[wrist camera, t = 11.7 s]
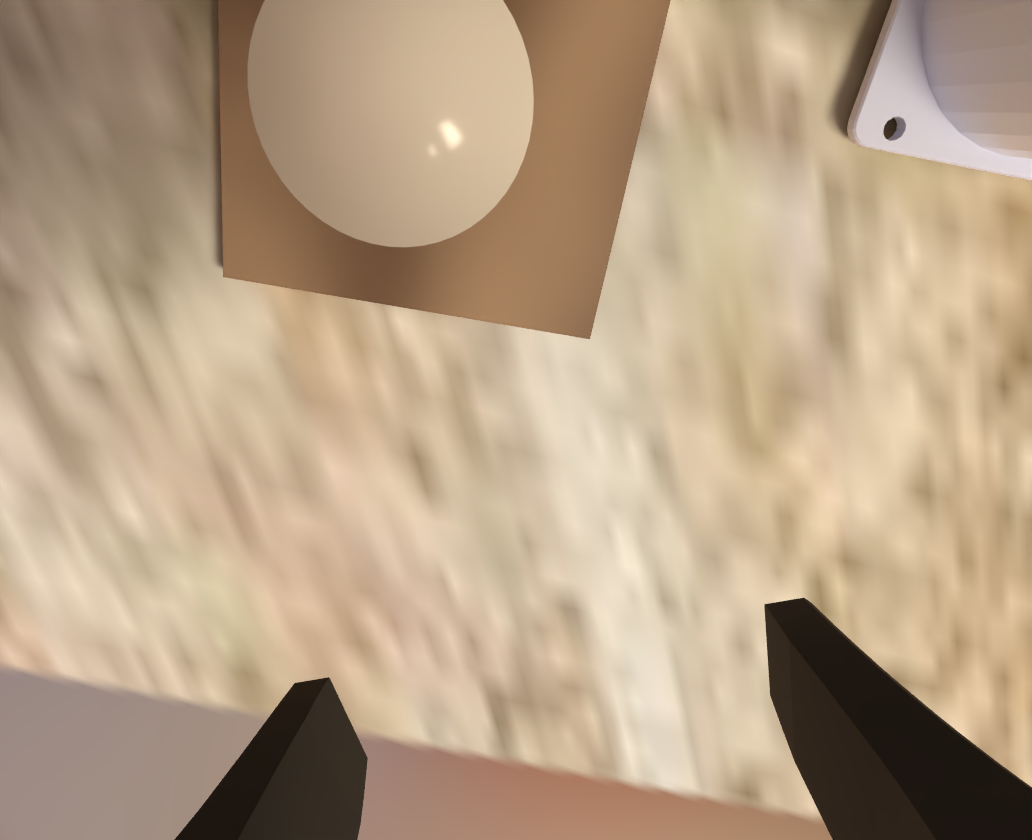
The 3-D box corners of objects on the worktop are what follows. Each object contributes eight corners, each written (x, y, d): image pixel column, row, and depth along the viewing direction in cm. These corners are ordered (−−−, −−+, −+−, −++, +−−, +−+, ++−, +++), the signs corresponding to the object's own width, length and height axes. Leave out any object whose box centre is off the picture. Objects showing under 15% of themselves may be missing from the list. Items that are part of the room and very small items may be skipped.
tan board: (690, -99, 14) (694, -104, 14) (588, 334, 18) (589, 338, 18) (221, -206, 13) (213, -215, 13) (229, 273, 18) (223, 276, 17)
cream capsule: (536, 6, 15) (551, -50, 9) (515, 209, 16) (517, 261, 11) (339, -20, 14) (236, -93, 9) (341, 189, 16) (257, 231, 11)
